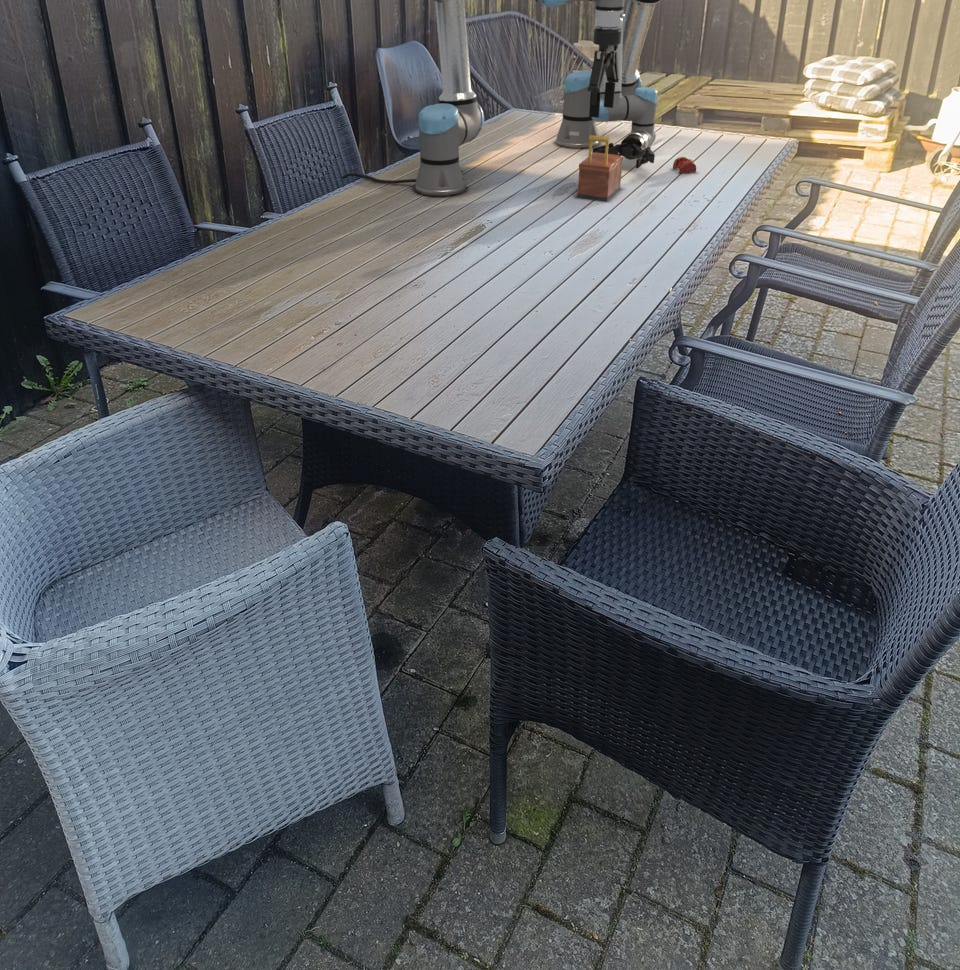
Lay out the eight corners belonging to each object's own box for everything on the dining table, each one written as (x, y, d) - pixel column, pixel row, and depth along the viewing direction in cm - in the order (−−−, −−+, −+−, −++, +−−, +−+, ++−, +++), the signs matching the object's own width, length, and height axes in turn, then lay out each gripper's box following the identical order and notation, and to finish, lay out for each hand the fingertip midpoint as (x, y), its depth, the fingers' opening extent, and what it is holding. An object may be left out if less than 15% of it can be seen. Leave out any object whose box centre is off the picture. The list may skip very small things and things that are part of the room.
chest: (606, 201, 249) (609, 171, 244) (577, 197, 252) (579, 167, 247) (620, 188, 259) (622, 159, 254) (591, 185, 262) (593, 156, 257)
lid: (609, 171, 244) (611, 140, 239) (578, 167, 247) (580, 137, 242) (622, 159, 254) (625, 129, 249) (593, 156, 257) (595, 126, 252)
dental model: (688, 153, 276) (699, 160, 270) (686, 166, 279) (697, 173, 272) (672, 155, 275) (682, 161, 269) (670, 168, 278) (681, 175, 271)
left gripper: (607, 34, 216) (600, 122, 228) (634, 22, 234) (626, 104, 247) (580, 32, 218) (574, 120, 231) (608, 21, 237) (602, 102, 249)
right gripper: (670, 161, 275) (654, 178, 259) (596, 153, 283) (577, 169, 267) (673, 137, 271) (657, 153, 255) (598, 129, 279) (578, 144, 263)
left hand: (601, 112), depth 239 cm, fingers open, 13 cm apart
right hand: (616, 161), depth 261 cm, fingers open, 13 cm apart
